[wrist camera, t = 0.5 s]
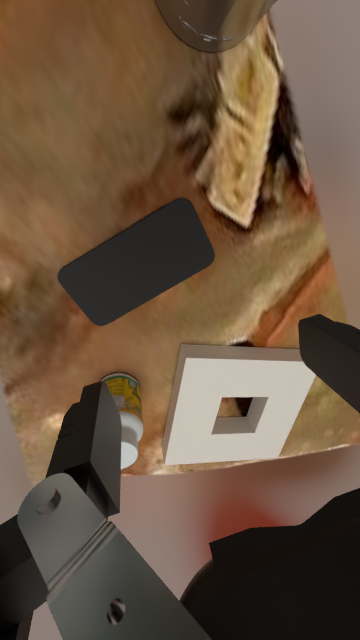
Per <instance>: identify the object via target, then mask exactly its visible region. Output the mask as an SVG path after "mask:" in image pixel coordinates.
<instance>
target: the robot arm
mask: <svg viewBox="0 0 360 640" xmlns="http://www.w3.org/2000/svg"><path fill="white" fill-rule="evenodd" d="M276 1H277V0H156V3H157V6H158V8H159V10H160V12H161V14H162V15H163V17H164V19H165V21H166V23H167V24H168V25H169V27H170V28H171V29H172V30H173V32H174V33H175V34H176V35H177V36H178V37H179V38H180V39H181V40H183V41H184V42H185V43H186V44H188V45H189V46H191V47H194V48H196V49H198V50H200V51H206V52H219V51H225V50H227V49H229V48H232V47H234V46H236V45H237V44H238V43H239V42H241V41H242V40H243V39H245V38H246V37H247V35H248V34H249V33H250V32H251V30H252V29H253V28H254V27H255V26H256V24H257V23H258V22H259V21H260V20H261V18H262V17H263V16H264V15H265V14H266V12H267V11H268V10H269V9H270V8H271V6H272V5H273V4H274V3H275V2H276ZM298 327H299V345H300V355H301V358H302V360H303V362H304V364H305V365H306V366H307V367H308V368H309V369H310V370H311V371H312V372H313V373H315V374H316V375H317V376H318V377H319V378H320V379H321V380H323V381H324V382H325V383H326V384H327V385H328V386H329V387H330V388H332V389H333V390H334V391H335V392H336V393H337V394H338V395H340V396H341V397H342V398H343V399H344V400H345V401H346V402H348V403H349V404H350V405H351V406H352V407H353V408H354V409H356V410H357V411H358V412H359V413H360V330H359V329H357V328H355V327H353V326H351V325H348V324H344V323H340V322H334V321H332V320H330V319H329V318H327V317H325V316H323V315H321V314H317V315H314V316H311V317H308V318H304V319H301V320H300V321H299V324H298ZM121 437H122V423H121V417H120V413H119V411H118V408H117V406H116V404H115V402H114V399H113V397H112V395H111V393H110V390H109V388H108V386H107V384H106V382H105V381H100V382H97V383H94V384H91V385H88V386H84V388H83V391H82V395H81V399H80V402H78V403H74V404H73V405H72V406H71V407H70V409H69V410H68V411H67V413H66V414H65V416H64V419H63V422H62V425H61V430H60V432H59V435H58V440H57V442H56V445H55V448H54V451H53V455H52V458H51V461H50V465H49V468H48V471H47V474H46V478H45V479H44V480H42V481H41V482H40V483H38V484H37V485H36V486H35V487H34V488H33V489H32V490H31V491H30V492H29V493H28V495H27V496H26V497H25V499H24V501H23V502H22V504H21V506H20V508H19V511H18V514H17V515H15V516H14V517H12V518H11V519H9V520H8V521H6V522H5V523H3V524H1V525H0V640H28V637H29V631H30V626H31V621H32V616H33V611H34V610H35V609H37V608H38V607H39V606H40V605H42V604H43V603H44V602H46V601H47V603H48V606H49V609H50V611H51V613H52V615H53V618H54V620H55V622H56V625H57V627H58V629H59V631H60V634H61V636H62V638H63V640H360V488H358V489H356V490H353V491H350V492H347V493H345V494H342V495H339V496H336V497H334V498H333V499H332V500H330V501H329V502H328V503H327V504H326V505H324V506H323V507H322V508H321V509H320V510H318V511H317V512H316V513H315V514H313V515H312V516H311V517H310V518H309V519H307V520H306V521H305V522H304V523H302V524H300V525H297V526H280V527H258V528H249V529H246V530H243V531H241V532H238V533H235V534H233V535H230V536H227V537H225V538H222V539H219V540H216V541H213V542H211V543H209V545H210V549H211V553H212V557H213V558H212V559H211V560H210V561H209V562H207V563H206V564H205V565H204V566H203V567H202V568H201V569H200V570H199V571H198V572H197V573H196V575H195V576H194V577H193V579H192V580H191V582H190V583H189V584H188V586H187V588H186V589H185V591H184V593H183V595H182V596H181V599H180V601H179V600H178V599H177V598H176V596H175V595H174V594H173V593H172V592H171V591H170V589H169V588H168V587H167V586H166V585H165V583H164V582H163V581H162V580H161V579H160V578H159V577H158V575H157V574H156V573H155V572H154V570H153V569H152V568H151V567H150V566H149V565H148V563H147V562H146V561H145V560H144V559H143V557H142V556H141V555H140V554H139V553H138V552H137V551H136V549H135V548H134V547H133V546H132V544H131V543H130V542H129V541H128V540H127V539H126V537H125V536H124V535H123V534H122V533H121V531H120V530H119V529H118V528H117V527H116V526H115V525H114V524H113V523H112V522H111V521H110V522H109V521H108V516H111V515H114V514H117V513H119V512H120V511H119V510H120V476H121Z"/></svg>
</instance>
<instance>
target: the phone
mask: <svg viewBox="0 0 360 640" xmlns="http://www.w3.org/2000/svg"><path fill="white" fill-rule="evenodd" d="M214 256H215V255H214V251H213V248H212V246H211V244H210V242H209V239H208V237H207V235H206V233H205V231H204V228H203V226H202V224H201V222H200V220H199V218H198V215H197V213H196V211H195V209H194V207H193V205H192V204H191V202H190V201H189V200H187V199H184V198H179V199H176V200H174V201H172V202H170V203H169V204H167V205H165V206H163V207H161V208H159V210H157V211H156V212H153V213H151V214H149V215H148V216H146V217H144V219H142V220H139V221H138V222H136V223H134V224H133V225H132V226H131V227H129V228H127V229H126V230H124V231H122V232H121V233H119V234H117V235H116V236H114V237H112V238H111V239H109V240H107V241H106V242H104V243H102V244H101V245H99V246H98V247H96V248H94V249H93V250H91V251H89V252H88V253H86V254H84V255H83V256H81V257H79V258H78V259H76V260H74V261H73V262H71V263H69V264H68V265H66V266H65V267H63V268H62V269H61V270H60V272H59V273H58V280H59V282H60V284H61V285H62V286H63V287H64V289H65V290H66V291H67V292H68V294H69V295H70V296H71V297H72V298H73V300H74V301H75V302H76V303H77V304H78V306H79V307H80V308H81V309H82V311H83V312H84V313H85V314H86V315H87V317H88V318H89V319H90V320H91V321H92V322H93V323H94V324H96V325H99V326H103V325H107V324H109V323H110V322H112V321H114V320H116V319H117V318H119V317H121V316H123V315H124V314H126V313H128V312H130V311H131V310H133V309H135V308H137V307H138V306H140V305H142V304H144V303H145V302H147V301H149V300H150V299H152V298H154V297H156V296H157V295H159V294H161V293H163V292H164V291H166V290H168V289H170V288H171V287H173V286H175V285H177V284H178V283H180V282H182V281H183V280H185V279H187V278H189V277H190V276H192V275H194V274H196V273H197V272H199V271H201V270H203V269H204V268H206V267H208V266H209V265H210V264H211V263H212V262H213V260H214Z"/></svg>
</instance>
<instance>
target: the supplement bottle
mask: <svg viewBox="0 0 360 640" xmlns="http://www.w3.org/2000/svg"><path fill="white" fill-rule="evenodd" d="M101 381H105V382H106V384H107V386H108V388H109V390H110V393H111V395H112V397H113V399H114V402H115V404H116V406H117V408H118V411H119V413H120V417H121V423H122V437H121V469H123V468H126V467H128V466H130V465H131V464H133V463H134V462H135V460H136V459H137V456H138V442H139V440H140V439H141V437H142V434H143V419H142V407H141V395H140V387H139V384H138V382H137V381H136V380H135V379H134V378H133V377H131V376H130V375H127V374H123V373H115V374H111V375H108V376H106V377H105V378H103V379H102V380H101Z"/></svg>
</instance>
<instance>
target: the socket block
mask: <svg viewBox="0 0 360 640" xmlns="http://www.w3.org/2000/svg"><path fill="white" fill-rule="evenodd" d="M315 376H316V374H315V373H313V372H312V371H311V370H310V369H309V368H308V367H307V366H306V365H305V364H304V362H303V360H302V358H301V355H300V349H282V348H260V347H237V346H215V345H193V344H181V348H180V353H179V358H178V363H177V369H176V374H175V379H174V384H173V390H172V395H171V400H170V406H169V411H168V416H167V421H166V427H165V432H164V437H163V442H162V453H163V460H164V465H175V464H190V463H206V462H221V461H236V460H251V459H267V458H278V456H279V454H280V452H281V449H282V447H283V445H284V443H285V441H286V439H287V436H288V434H289V432H290V430H291V428H292V426H293V423H294V421H295V419H296V417H297V415H298V413H299V410H300V408H301V406H302V404H303V402H304V400H305V397H306V395H307V393H308V391H309V389H310V387H311V384H312V382H313V380H314V378H315ZM222 397H253V399H252V402H251V405H250V408H249V411H248V413H247V416H246V417H217V418H216V416H217V413H218V409H219V406H220V403H221V399H222Z"/></svg>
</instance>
